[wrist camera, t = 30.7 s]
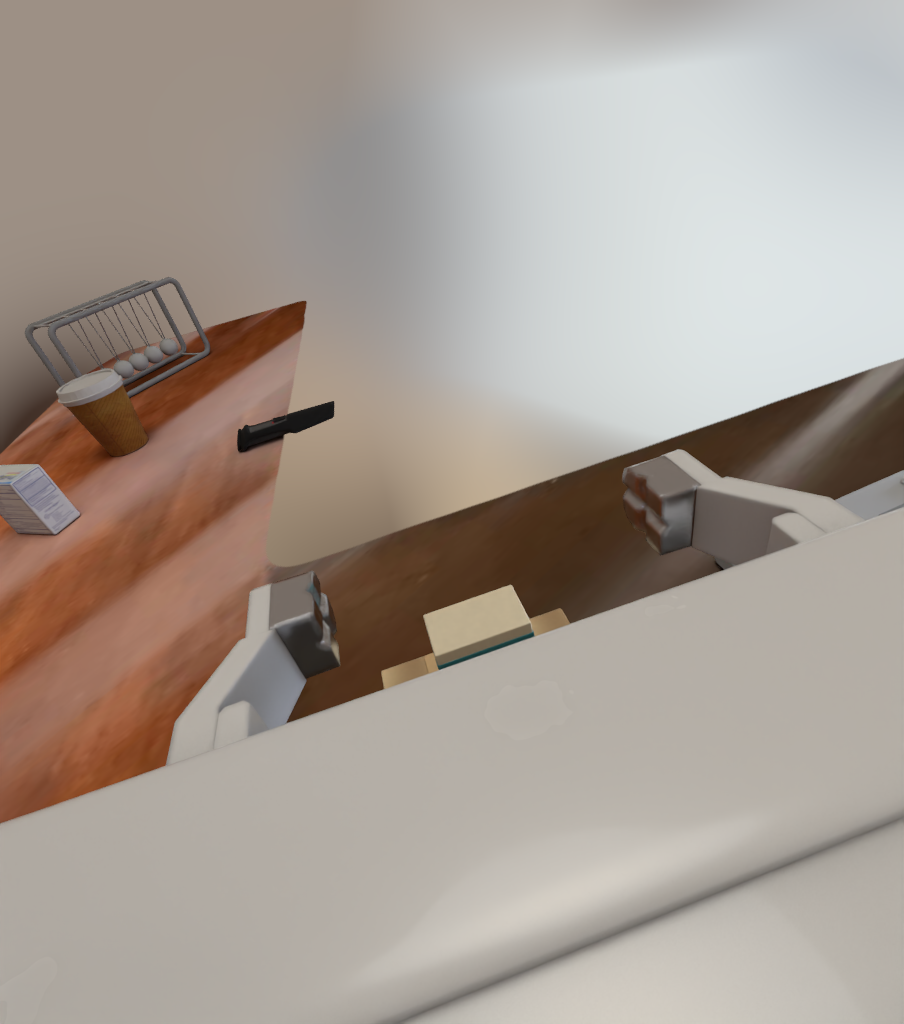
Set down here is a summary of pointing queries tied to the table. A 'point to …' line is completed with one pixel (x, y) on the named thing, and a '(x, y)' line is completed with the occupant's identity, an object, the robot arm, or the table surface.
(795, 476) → the table surface
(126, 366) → the newton's cradle
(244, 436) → the electric trimmer
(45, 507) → the medicine box
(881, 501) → the office telephone
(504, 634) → the box
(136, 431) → the disposable coffee cup
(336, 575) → the table surface
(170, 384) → the table surface
